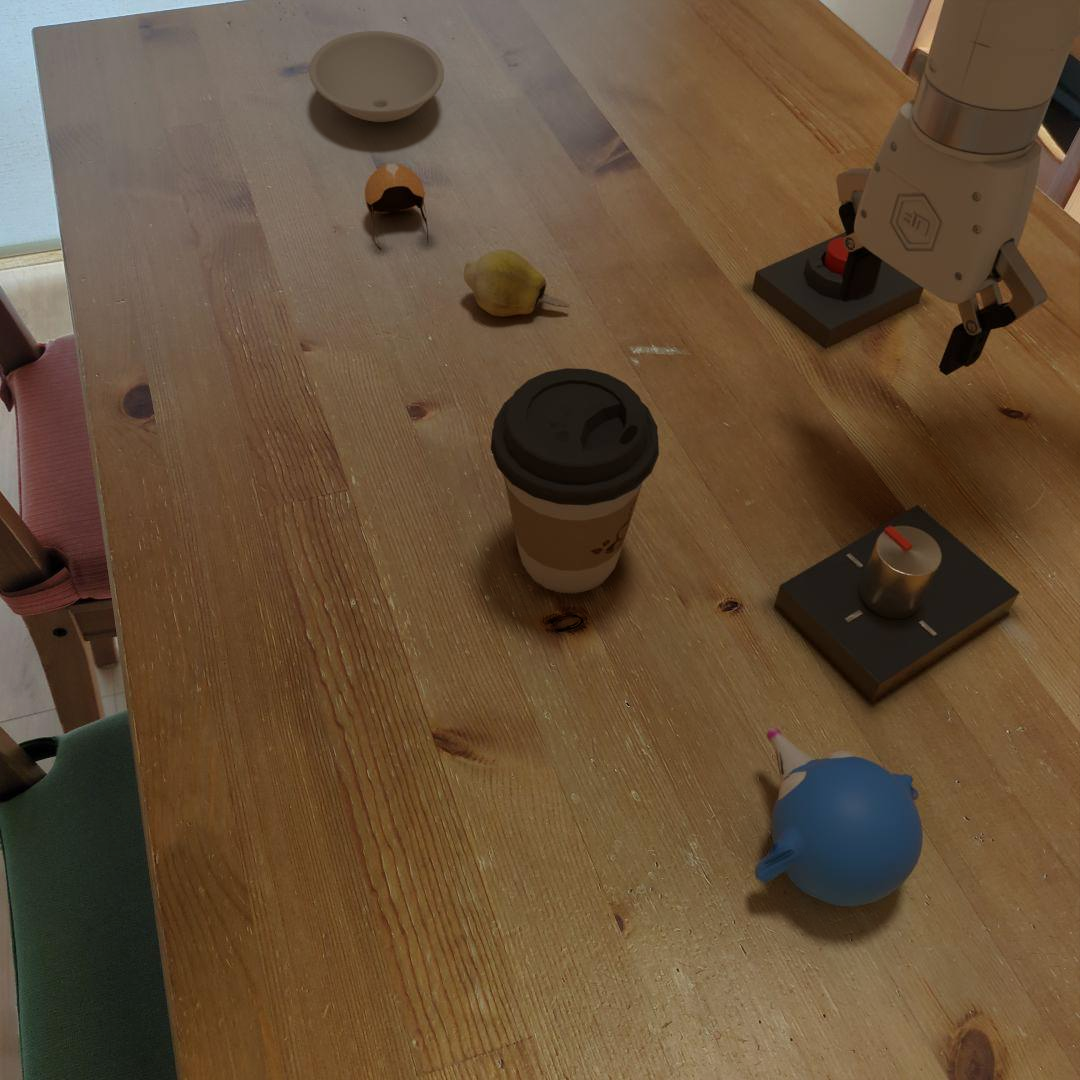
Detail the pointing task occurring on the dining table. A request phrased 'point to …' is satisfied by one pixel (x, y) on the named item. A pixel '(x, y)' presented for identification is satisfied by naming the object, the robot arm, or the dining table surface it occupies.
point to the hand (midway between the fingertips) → (904, 328)
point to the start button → (836, 256)
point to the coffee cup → (573, 472)
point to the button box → (831, 295)
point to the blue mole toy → (841, 826)
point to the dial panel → (883, 643)
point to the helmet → (394, 191)
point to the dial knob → (899, 571)
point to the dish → (376, 74)
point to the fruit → (507, 284)
